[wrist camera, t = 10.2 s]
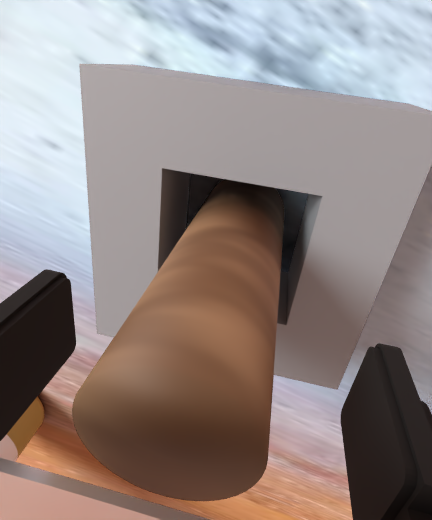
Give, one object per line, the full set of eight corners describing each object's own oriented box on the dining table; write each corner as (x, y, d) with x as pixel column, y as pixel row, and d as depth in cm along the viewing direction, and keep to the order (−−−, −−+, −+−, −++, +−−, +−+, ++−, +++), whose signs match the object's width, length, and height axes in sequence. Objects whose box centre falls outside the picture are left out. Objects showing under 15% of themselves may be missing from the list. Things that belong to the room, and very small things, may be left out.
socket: (409, 103, 16) (451, 117, 12) (329, 327, 22) (337, 389, 18) (133, 64, 17) (79, 63, 13) (132, 285, 24) (97, 333, 19)
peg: (292, 182, 18) (288, 397, 6) (275, 255, 21) (249, 519, 9) (210, 168, 19) (62, 344, 7) (202, 241, 21) (79, 472, 9)
